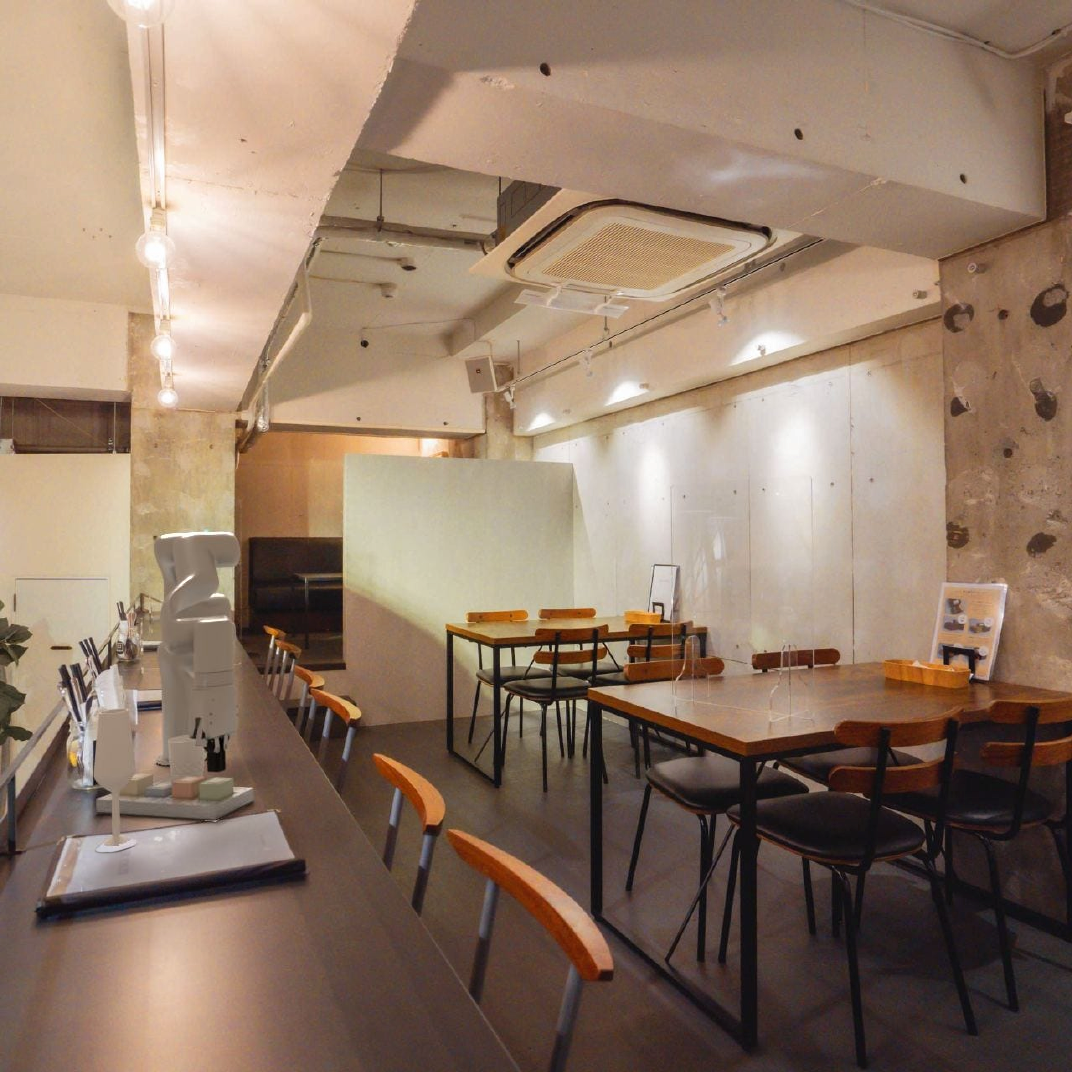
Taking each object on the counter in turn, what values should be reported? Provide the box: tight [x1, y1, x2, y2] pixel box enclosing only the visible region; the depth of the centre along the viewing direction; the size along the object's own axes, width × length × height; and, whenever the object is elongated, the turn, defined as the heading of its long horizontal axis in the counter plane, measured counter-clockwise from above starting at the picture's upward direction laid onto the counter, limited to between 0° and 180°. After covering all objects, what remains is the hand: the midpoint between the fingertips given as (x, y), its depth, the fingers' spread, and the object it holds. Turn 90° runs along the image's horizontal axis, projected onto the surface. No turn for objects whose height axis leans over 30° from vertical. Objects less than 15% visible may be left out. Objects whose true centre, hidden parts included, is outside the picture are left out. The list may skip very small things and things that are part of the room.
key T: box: [145, 781, 172, 798], centre depth 160 cm, size 4×4×4 cm
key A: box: [172, 776, 207, 799], centre depth 158 cm, size 4×4×4 cm
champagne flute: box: [93, 708, 137, 846], centre depth 139 cm, size 7×7×24 cm
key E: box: [199, 776, 234, 801], centre depth 156 cm, size 4×4×4 cm
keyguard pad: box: [95, 782, 254, 822], centre depth 159 cm, size 12×28×3 cm, turn 75°
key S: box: [119, 772, 154, 796], centre depth 161 cm, size 4×4×4 cm
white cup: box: [168, 735, 206, 783], centre depth 178 cm, size 8×8×10 cm
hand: (216, 770), depth 156 cm, fingers closed
